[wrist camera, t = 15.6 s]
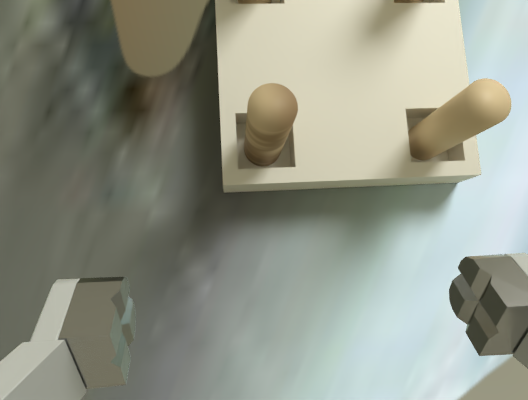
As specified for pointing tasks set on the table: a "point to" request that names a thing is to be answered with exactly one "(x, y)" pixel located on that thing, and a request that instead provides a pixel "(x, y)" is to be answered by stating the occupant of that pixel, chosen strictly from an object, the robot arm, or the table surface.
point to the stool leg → (268, 122)
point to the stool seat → (354, 92)
